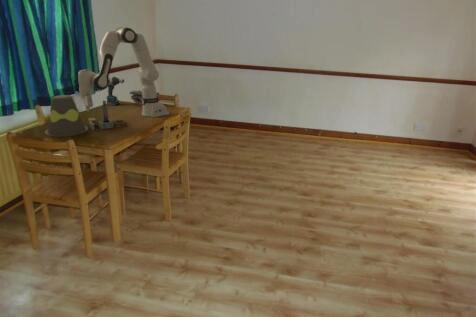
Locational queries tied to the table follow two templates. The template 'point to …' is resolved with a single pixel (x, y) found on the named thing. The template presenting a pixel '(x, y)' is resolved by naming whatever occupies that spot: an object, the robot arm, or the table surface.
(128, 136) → the table surface
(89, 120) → the drift key
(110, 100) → the impact wrench
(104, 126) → the socket block
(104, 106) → the drill bit
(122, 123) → the rack
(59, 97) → the banded grey frustum
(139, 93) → the dark grey irregular piece
